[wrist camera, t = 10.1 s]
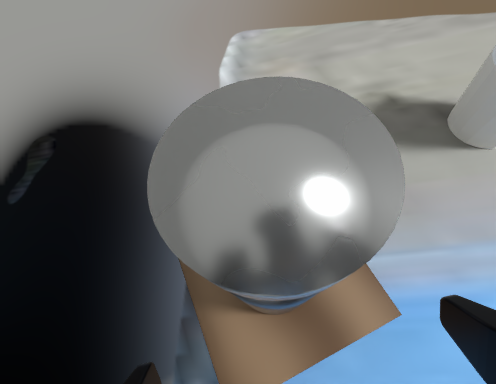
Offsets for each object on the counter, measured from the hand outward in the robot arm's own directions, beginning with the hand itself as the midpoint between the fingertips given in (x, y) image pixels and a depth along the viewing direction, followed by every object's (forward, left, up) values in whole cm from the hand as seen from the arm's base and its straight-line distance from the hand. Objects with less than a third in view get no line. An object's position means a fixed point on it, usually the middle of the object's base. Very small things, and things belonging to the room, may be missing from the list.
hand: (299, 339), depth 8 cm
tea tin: (+1, +3, -8) cm, 9 cm away
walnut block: (+1, +4, -12) cm, 13 cm away
